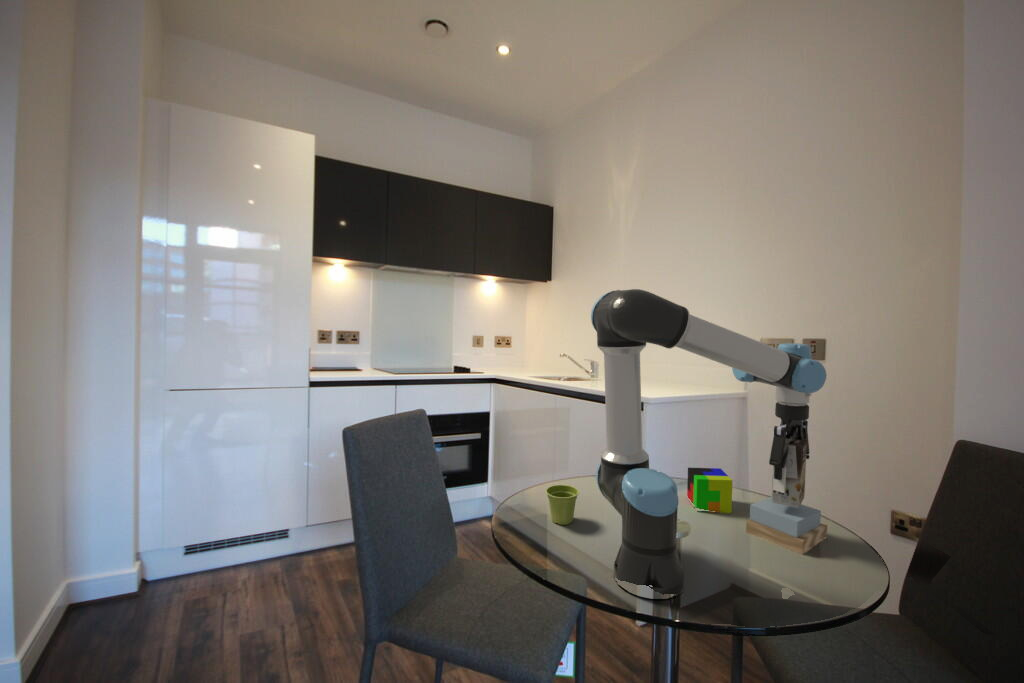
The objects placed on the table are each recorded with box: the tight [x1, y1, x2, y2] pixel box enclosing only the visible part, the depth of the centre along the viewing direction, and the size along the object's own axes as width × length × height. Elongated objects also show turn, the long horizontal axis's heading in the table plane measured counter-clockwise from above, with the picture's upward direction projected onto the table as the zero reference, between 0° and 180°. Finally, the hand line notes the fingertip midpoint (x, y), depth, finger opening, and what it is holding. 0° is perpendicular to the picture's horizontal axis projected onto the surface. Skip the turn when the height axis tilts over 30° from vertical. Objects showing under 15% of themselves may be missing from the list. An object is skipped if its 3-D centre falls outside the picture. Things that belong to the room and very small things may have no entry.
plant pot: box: [545, 484, 580, 526], centre depth 133 cm, size 9×9×9 cm
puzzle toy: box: [686, 467, 734, 514], centre depth 143 cm, size 10×10×10 cm
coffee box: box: [771, 438, 807, 508], centre depth 122 cm, size 9×6×16 cm
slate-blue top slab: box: [749, 495, 822, 538], centre depth 124 cm, size 12×12×4 cm
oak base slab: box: [745, 517, 828, 555], centre depth 124 cm, size 14×14×4 cm
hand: (788, 486), depth 123 cm, fingers closed on coffee box, 10 cm apart
